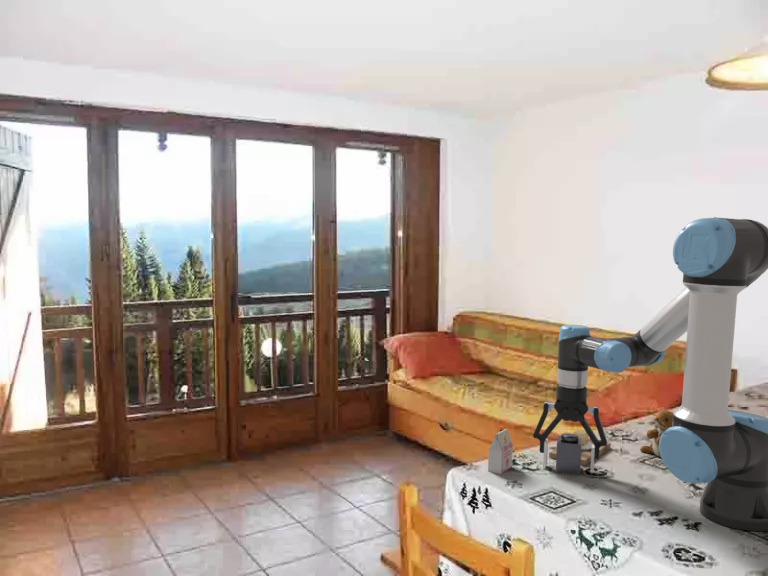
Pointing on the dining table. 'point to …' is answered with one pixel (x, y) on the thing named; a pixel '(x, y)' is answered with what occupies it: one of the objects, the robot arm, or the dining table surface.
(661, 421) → the stuffed squirrel
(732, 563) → the dining table surface
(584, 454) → the block
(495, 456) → the white gable top carton
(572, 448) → the grey cube with knob
